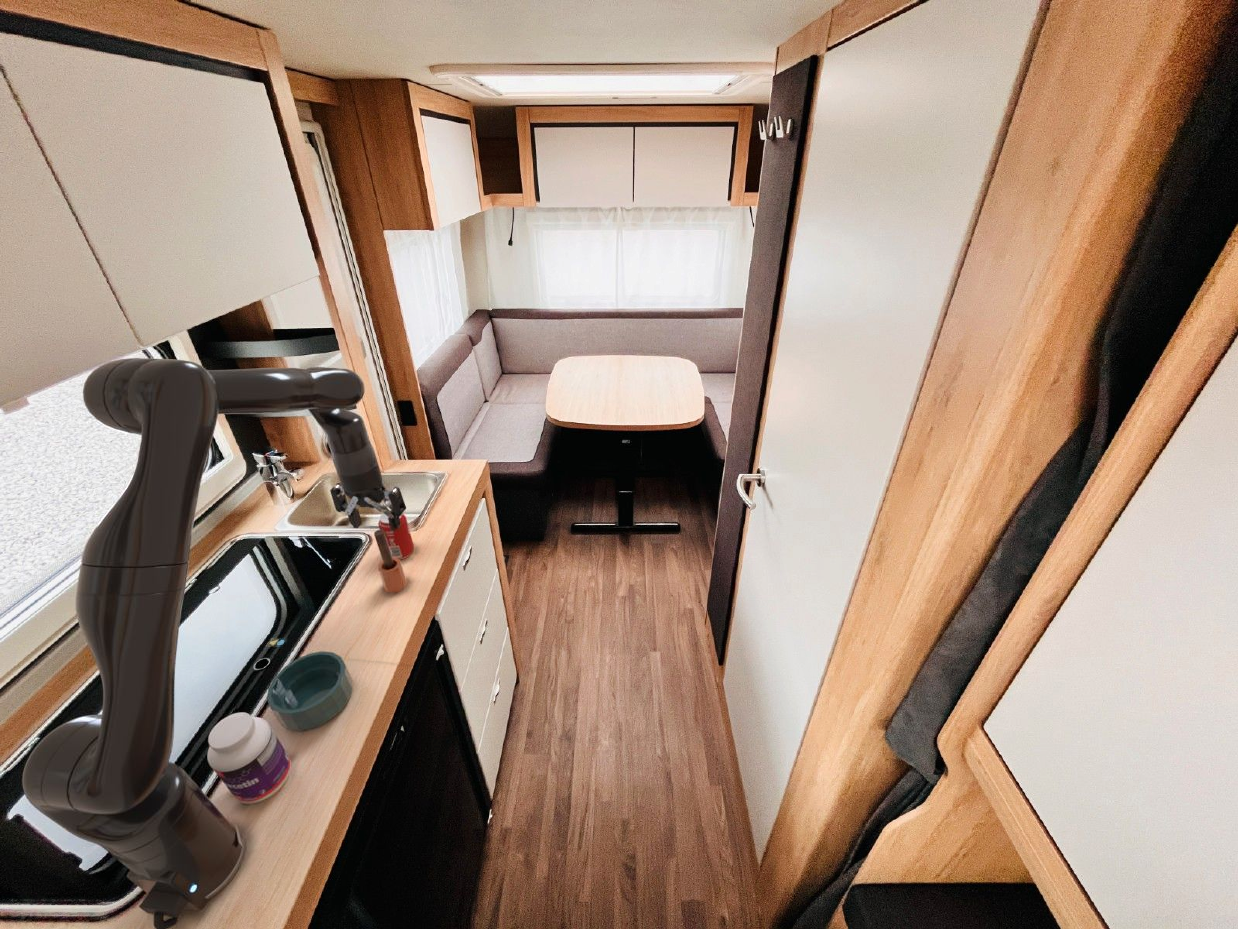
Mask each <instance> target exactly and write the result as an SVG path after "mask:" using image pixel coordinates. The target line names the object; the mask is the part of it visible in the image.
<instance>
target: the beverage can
mask: <svg viewBox="0 0 1238 929" xmlns="http://www.w3.org/2000/svg"><path fill="white" fill-rule="evenodd" d="M389 510H390V511H391V509H389ZM388 518H389V517H388V516H387V515H386V514H384V513H383V512H382V514H381V515H380V516H379V520H378V524H377V525H378V528H379V529H378V530H383V531H384V533H385V536H386V540H387V543H388V546H389V549H390V552H391V555H392V557H393V558H398V559H399V560H403V559H406V558H408V557H409V556H411V554H412V553H413V552H414V550H415V544H414V541H413V538H412V533H411V530H410V526H409V524H408V518H407V517H406V515H405V514H404V513H402V515H401V516H400V517H399V518H400V521H401V525H400V526H399V528H398V529H397V530H396V531H392V530H391V527H390V524H389V520H388Z"/></svg>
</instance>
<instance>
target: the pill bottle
mask: <svg viewBox="0 0 1238 929" xmlns="http://www.w3.org/2000/svg"><path fill="white" fill-rule="evenodd" d="M207 738H208V739H207V742H208V745H209V747H208V750H207V755H206V756H207V762H208V765H209V766H210V768H211V769H212V770H213V771H214V773H215V774H216V775H217V777H219V779H220V780H221V782H222V783H223V784H224V785H225V786H226V788H227V789H228V790H229V791H230V793H231V794H232V795H233V797H234V798H235V799H236V800H237V801H238V802H240V803H242V804H249V805H251V804H257V803H260V802H262V801H265V800H267V799H268V798H270V797H272V796H273V795H274V794H276V793H277V792H278V791H279V790H280V789H281V788H282V787H283V786H284V784H285V783H286V782H287V780H288V779H289V775H290V773H291V770H292V760H291V757H290V756H289V754H288V752H287V750H286V749H285V748H284V747H283V745H282V743H281V741H280V740H279V738H278V736H277V735H276V733H275V732H274V730H273V729H272V727H271V725H270V724H269V722H268V721H267V720H266V719H264V718H261V717H258V716H252V715H251V714H249V713H247V712H245V711H244V712H242V711H241V712H235V713H232V714H230V715H227V716H226V717H224V718H223V719H221V720H220V721H219V722H217V723H216V725H215V726H213V727H212V729H211V731H210V732H209V735H208V737H207Z"/></svg>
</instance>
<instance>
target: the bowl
mask: <svg viewBox="0 0 1238 929" xmlns="http://www.w3.org/2000/svg"><path fill="white" fill-rule="evenodd" d="M353 683H354V682H353V679H352V676H351V674H350V672H349V670H348V667H347V666H346V663H345V661H344V660H343V658H342V656H340V655H338V654H337V653H335V652H332V651H316V652H310V653H308V654H305V655H303V656H301V657H298V658H296V659H294V660H293V661H291V662H289V663H288V664H287V665H286V666H284V667H283V668H282V669H281V670H280V671H279V672H278V673H277V674H276V675H275V676H274V678H273V679H272V681H271V682H270V685H269V687H268V689H267V694H266V701H267V703H268V705H269V708H270V710H271V711H272V713H273V714H274V716H275V717H276V719H277V720H278V722H279V724H280V725H281V726H283V727H284V728H286V729H287V730H290V731H291V730H292V731H298V732H299V731H300V732H301V731H307V730H311V729H315V728H317V727H319V726H321V725H323V724H325V723H327V722H329V721H330V720H331V719H333V718H334V717H335V716H337V714H339V713H340V712H341V711H342V710H343V708H344V707H345V706H346V705H347V704H348V703H349V700H350V698H351V695H352V692H353V686H354V684H353Z"/></svg>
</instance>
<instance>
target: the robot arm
mask: <svg viewBox="0 0 1238 929" xmlns="http://www.w3.org/2000/svg"><path fill="white" fill-rule="evenodd" d="M364 383H365V382H364V381H363V379H362V377H361V376H360V375H359V374H358V373H357V372H355V371H354V370H352V369H348V368H340V367H339V368H338V367H326V366H325V367H324V366H310V367H307V368H298V367H260V368H243V369H241V368H240V369H238V368H237V369H213V370H212V369H210V370H209V369H206V368H205V367H204V366H202V365H201V364H198V363H196V362H194V361H190V360H184V359H171V358H170V359H169V358H147V357H145V358H142V357H130V358H129V357H127V358H120V359H116V360H112V361H108V362H106V363H103V364H102V365H99V366H98V367H96V368H95V369H94V370H92V371H91V372H90V374H88V376H87V378H86V380H85V381H84V383H83V389H82V398H83V399H82V400H83V403H84V406H85V408H86V409H87V411H88V412H89V414H90V415H91V416H92V417H93V418H94V420H96V421H97V422H99V423H100V424H102V425H103V426H104V427H107V428H109V429H111V430H114V431H118V432H121V433H125V434H132V435H138V436H140V443H139V451H138V455H137V456H138V457H137V461H136V466H135V469H134V472H133V474H132V476H131V479H130V481H129V483H128V484H127V486H126V488H125V489H124V491H123V492H122V493H121V495H120V496H119V497H118V499H117V500H116V501H115V503H114V504H113V505H112V506H111V507H110V509H109V510H108V511H107V513H106V514H105V515H104V516H103V517H102V519H101V520H100V521H99V522H98V524H97V526H96V527H95V528H94V529H93V531H92V533H91V534H90V536H89V538H88V539H87V541H86V543H85V546H84V549H83V551H82V556H81V560H80V562H81V563H80V566H79V572H78V579H77V586H76V592H75V613H76V618H77V622H78V625H79V628H80V630H81V633H82V635H83V637H84V639H85V640H84V641H85V642H86V644H87V646H88V648H89V650H90V653H91V655H92V657H93V660H94V662H95V664H96V667H97V669H98V672H99V675H100V678H101V683H102V684H101V685H102V692H103V694H102V695H103V696H102V709H101V710H102V711H101V714H88V715H83V716H79V717H76V718H73V719H70V720H68V721H66V722H65V723H62V724H61V725H59V726H57V727H56V728H55V729H53V730H51V731H50V732H49V733H48V734H47V735H46V736H44V737H43V738H42V739H41V741H39V743H38V744H36V746H35V747H34V749H32V751H31V753H30V754H29V756H28V758H27V760H26V763H25V765H24V768H23V772H22V779H21V783H22V784H21V785H22V790H23V793H24V795H25V797H26V799H27V800H28V802H29V803H30V804H31V806H33V807H34V808H35V809H36V810H37V811H39V812H40V813H41V814H43V815H44V816H45V817H46V818H48V819H50V820H51V821H52V822H54V823H55V824H57V825H59V826H60V827H61V828H63V829H64V830H65V831H67V832H69V833H70V834H72V835H73V836H75V837H77V838H79V839H82V840H84V841H86V842H89V843H91V844H92V843H93V844H94V845H95V844H96V845H98V846H99V847H101V848H102V849H103V850H104V851H106V852H107V853H109V854H110V855H111V856H112V857H114V858H115V859H116V860H117V861H119V862H120V863H121V864H122V865H123V866H125V867H126V868H127V869H129V871H128V872H127V874H126V878H127V879H128V880H130V882H132V883H133V884H134V885H136V886H137V887H139V888H140V889H141V890H142V891H144V892H145V893H146V896H145V897H144V899H143V900H142V902H141V903H140V904H139V906H138V908H139V909H141V910H142V911H144V912H145V913H146V914H148V915H149V914H150V915H153V926H154V929H169V928H171V927H174V926H175V925H176V924H177V923H178V921H179V918H180V917H181V916H182V914H183V912H184V911H185V909H188V910H195V911H202V910H203V909H204V908H205V906H206V904H207V903H208V902H209V901H210V900H211V899H212V898H214V897H215V896H217V895H218V894H219V893H220V892H222V890H223V889H224V888H225V887H227V885H228V884H229V883H231V881H232V880H233V878H234V877H235V875H236V874H237V873H238V871H239V869H240V867H241V866H242V864H243V861H244V859H245V855H246V849H247V847H246V846H247V844H246V839H245V837H244V835H243V834H242V833H241V832H240V829H239V826H238V825H237V824H236V823H234V825H233V824H232V823H231V822H230V821H229V819H227V818H226V816H225V815H224V814H223V813H222V812H221V811H220V810H219V809H218V807H217V806H216V805H215V804H214V803H213V802H212V800H211V799H210V798H209V797H208V796H207V794H205V793H204V791H203V790H202V789H201V787H200V786H198V784H197V783H196V782H195V781H194V780H193V779H192V778H191V776H190V775H189V774H188V773H187V772H186V771H185V769H183V768H182V767H181V766H180V765H179V764H176V763H174V762H172V761H170V760H171V759H170V758H171V755H172V752H173V747H174V746H173V745H174V737H175V736H174V735H175V685H176V684H175V679H176V661H177V651H178V642H179V634H180V633H179V631H180V623H181V615H182V608H183V602H184V598H185V593H186V586H187V581H188V573H189V564H190V562H189V561H190V556H191V544H192V536H193V530H194V529H193V528H194V524H195V519H196V518H195V517H196V511H197V507H198V506H197V505H198V499H199V495H200V494H199V493H200V489H201V483H202V480H203V475H204V471H205V467H206V464H207V459H208V456H209V452H210V448H211V444H212V441H213V437H214V434H215V430H216V426H217V421H218V417H219V415H260V414H261V415H264V414H265V415H267V414H281V413H282V414H283V413H291V412H299V411H305V410H308V411H309V413H310V415H311V416H312V417H313V418H314V420H315V421H316V423H317V424H318V425H319V426H320V428H321V429H322V430H323V432H324V435H325V439H326V441H327V444H328V447H329V449H330V454H331V460H332V463H333V465H334V469H335V471H336V474H337V477H338V480H339V482H336V484H334V486H332V488H330V490H329V491H330V495H331V498H332V501H333V505H334V508H335V511H336V512H337V513H341V512H342V513H344V514H345V515H346V516H347V518H348V520H349V523H350V525H351V526H352V528H353V529H359V528H360V527H361V525H363V524H362V523H363V520H362V517H361V514H360V510H359V509H358V508H357V507H360V508H370V509H376V510H377V511H378V512H379V513H382V514H383V513H384V514H386V515H387V516H388V517H389V518H388V520H389V524H390V527H391V530H392V531H396V530H397V529H398V528H399V526H400V525H401V521H400V518H399V517H400V516H401V515H402V514H404V512H405V511H406V510H407V505H406V503H405V500H404V496H403V495H402V492H401V489H400V487H399V486H394V487H393V488H387V487H385V486H384V484H383V475H382V472H381V469H380V465H379V462H378V458H377V455H376V452H375V448H374V447H373V445H372V442H371V440H370V436H369V433H368V430H367V427H366V424H365V421H364V419H363V417H362V416H361V415H360V414H359V413H356V412H354V411H350V410H348V409H350V408H352V407H354V406H357V405H358V404H359V403H360V402H361V401H362V400H363V398H364V395H365V384H364ZM347 497H348V498H349V499H350V501H349V502H348V500H347ZM382 502H384V503H383V504H381V503H382ZM390 510H391V511H390ZM164 917H169V918H168V919H166V920H165V918H164Z"/></svg>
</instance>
